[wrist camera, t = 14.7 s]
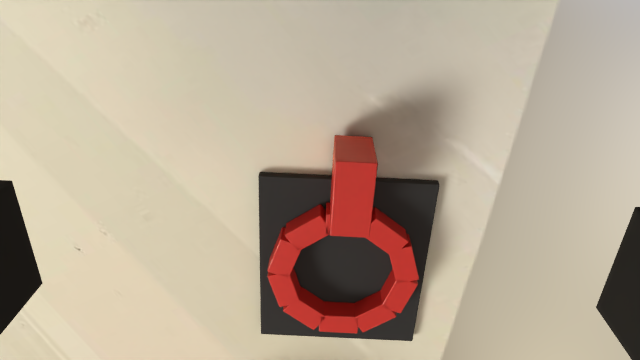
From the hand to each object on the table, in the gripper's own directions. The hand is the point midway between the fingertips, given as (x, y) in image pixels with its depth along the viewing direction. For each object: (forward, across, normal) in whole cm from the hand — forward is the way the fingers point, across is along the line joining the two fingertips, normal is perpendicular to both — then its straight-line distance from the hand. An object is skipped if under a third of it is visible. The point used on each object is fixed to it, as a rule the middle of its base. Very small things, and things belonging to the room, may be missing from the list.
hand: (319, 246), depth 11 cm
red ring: (+20, +2, -13) cm, 24 cm away
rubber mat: (+20, +2, -16) cm, 25 cm away
